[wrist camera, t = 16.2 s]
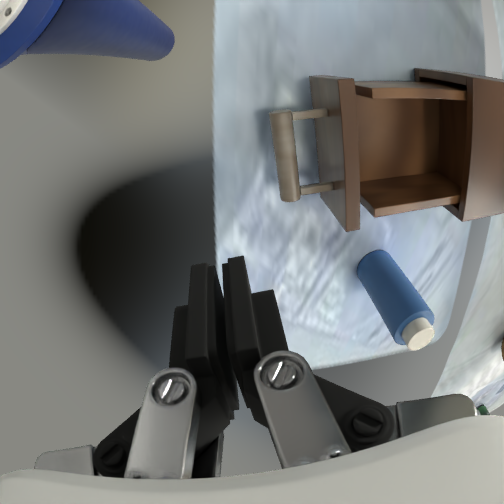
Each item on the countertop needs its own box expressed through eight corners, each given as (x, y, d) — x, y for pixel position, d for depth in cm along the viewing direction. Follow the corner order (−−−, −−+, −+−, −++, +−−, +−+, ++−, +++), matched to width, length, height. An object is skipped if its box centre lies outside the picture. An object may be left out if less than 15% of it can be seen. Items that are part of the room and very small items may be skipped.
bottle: (356, 285, 37) (396, 361, 27) (357, 254, 35) (405, 329, 24) (389, 277, 37) (435, 348, 27) (392, 246, 35) (446, 316, 24)
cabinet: (414, 185, 31) (462, 222, 23) (413, 68, 24) (472, 77, 16) (499, 175, 31) (544, 204, 23) (504, 79, 24) (557, 95, 17)
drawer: (275, 205, 29) (291, 242, 24) (257, 81, 23) (271, 85, 17) (435, 180, 29) (474, 208, 24) (437, 75, 23) (483, 85, 18)
